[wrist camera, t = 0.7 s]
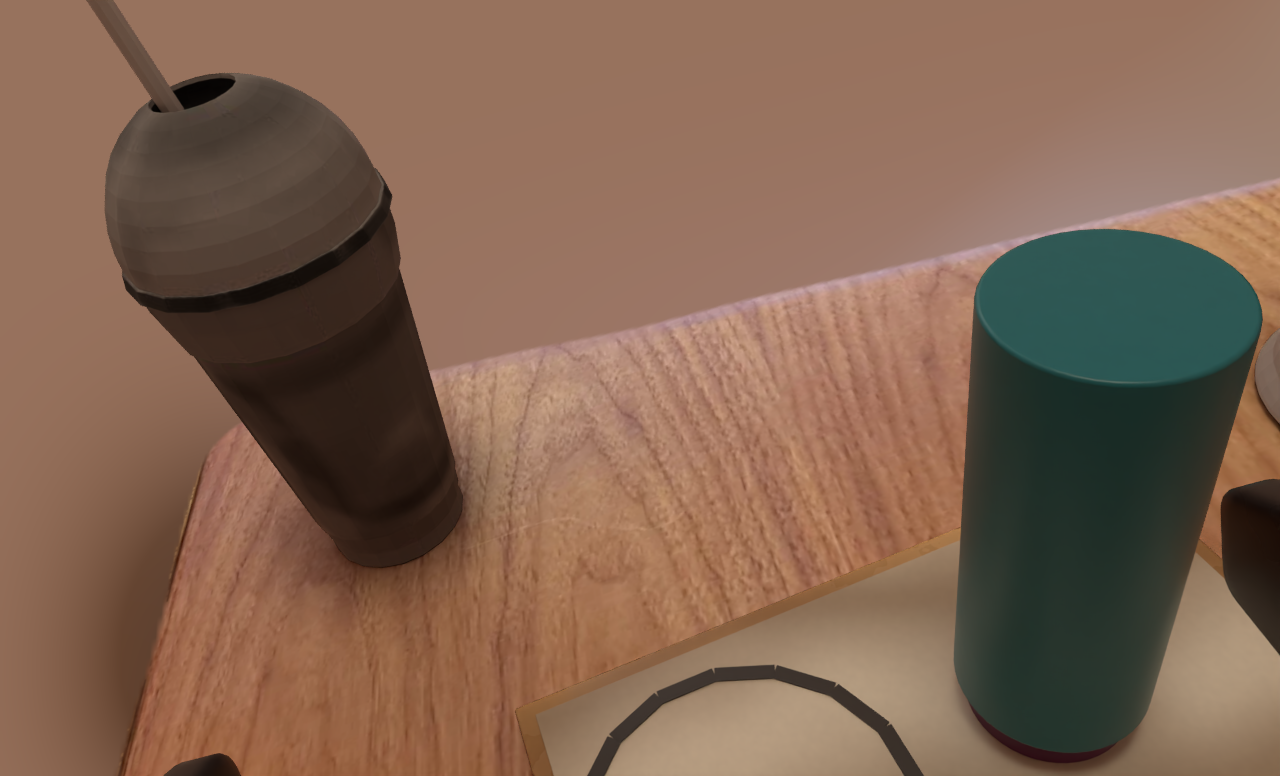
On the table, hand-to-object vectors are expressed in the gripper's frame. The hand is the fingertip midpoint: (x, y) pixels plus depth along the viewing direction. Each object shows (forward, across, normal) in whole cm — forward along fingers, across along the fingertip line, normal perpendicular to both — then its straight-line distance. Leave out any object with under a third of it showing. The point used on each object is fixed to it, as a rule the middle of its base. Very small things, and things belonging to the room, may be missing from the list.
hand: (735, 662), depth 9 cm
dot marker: (+12, -8, +12) cm, 19 cm away
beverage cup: (+24, +9, +8) cm, 27 cm away
